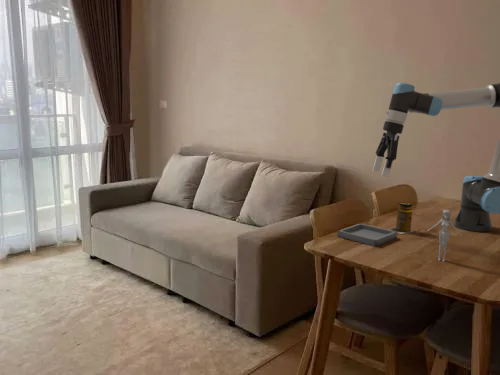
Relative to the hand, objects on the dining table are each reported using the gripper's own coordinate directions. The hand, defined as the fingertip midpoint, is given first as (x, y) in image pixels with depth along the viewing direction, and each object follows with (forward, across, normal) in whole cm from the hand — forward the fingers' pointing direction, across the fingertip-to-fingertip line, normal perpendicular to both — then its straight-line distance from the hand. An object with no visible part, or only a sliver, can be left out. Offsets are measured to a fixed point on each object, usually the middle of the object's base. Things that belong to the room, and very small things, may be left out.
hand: (380, 173), depth 197 cm
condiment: (+22, -6, +18) cm, 29 cm away
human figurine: (+23, +30, +21) cm, 43 cm away
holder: (+26, +5, 0) cm, 26 cm away
